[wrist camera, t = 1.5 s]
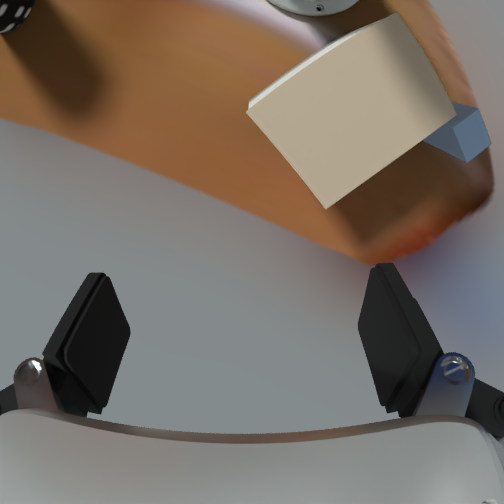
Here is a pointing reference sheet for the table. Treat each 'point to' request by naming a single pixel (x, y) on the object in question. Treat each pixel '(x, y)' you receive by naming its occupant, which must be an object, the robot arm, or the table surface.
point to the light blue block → (461, 134)
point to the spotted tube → (13, 13)
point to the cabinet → (353, 107)
